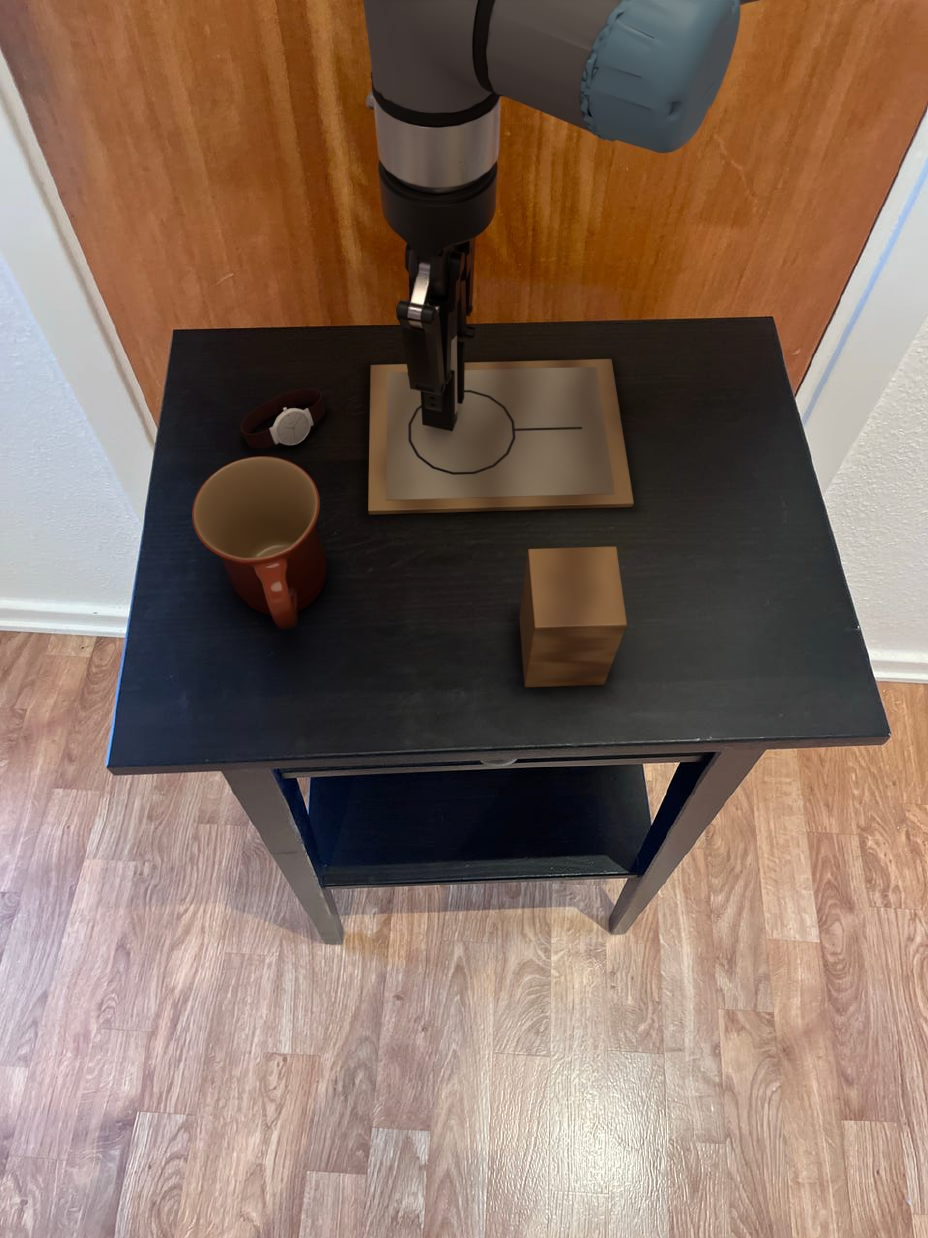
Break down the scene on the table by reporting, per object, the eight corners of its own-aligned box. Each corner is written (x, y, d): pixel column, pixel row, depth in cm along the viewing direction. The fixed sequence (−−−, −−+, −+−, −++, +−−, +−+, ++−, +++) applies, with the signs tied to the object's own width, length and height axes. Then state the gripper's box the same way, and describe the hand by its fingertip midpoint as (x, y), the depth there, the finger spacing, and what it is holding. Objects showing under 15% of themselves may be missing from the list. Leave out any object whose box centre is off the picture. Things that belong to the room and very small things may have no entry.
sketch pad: (610, 363, 79) (611, 357, 78) (632, 507, 72) (634, 502, 71) (371, 369, 79) (370, 363, 78) (368, 514, 71) (367, 510, 71)
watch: (260, 465, 74) (251, 438, 70) (234, 430, 75) (224, 402, 72) (337, 425, 76) (332, 396, 72) (310, 391, 77) (303, 362, 74)
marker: (461, 410, 76) (460, 292, 64) (453, 431, 74) (452, 316, 63) (434, 404, 76) (428, 286, 64) (426, 426, 75) (419, 309, 63)
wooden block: (595, 614, 67) (616, 545, 58) (604, 685, 64) (627, 624, 55) (519, 616, 67) (528, 548, 58) (524, 687, 64) (534, 627, 55)
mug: (219, 548, 70) (183, 471, 61) (325, 523, 71) (305, 443, 62) (244, 679, 64) (209, 616, 55) (358, 649, 66) (342, 583, 56)
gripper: (415, 75, 57) (426, 338, 78) (340, 227, 50) (375, 471, 71) (524, 93, 56) (506, 355, 77) (464, 251, 50) (462, 491, 71)
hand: (443, 410), depth 74 cm, fingers closed on marker, 2 cm apart
